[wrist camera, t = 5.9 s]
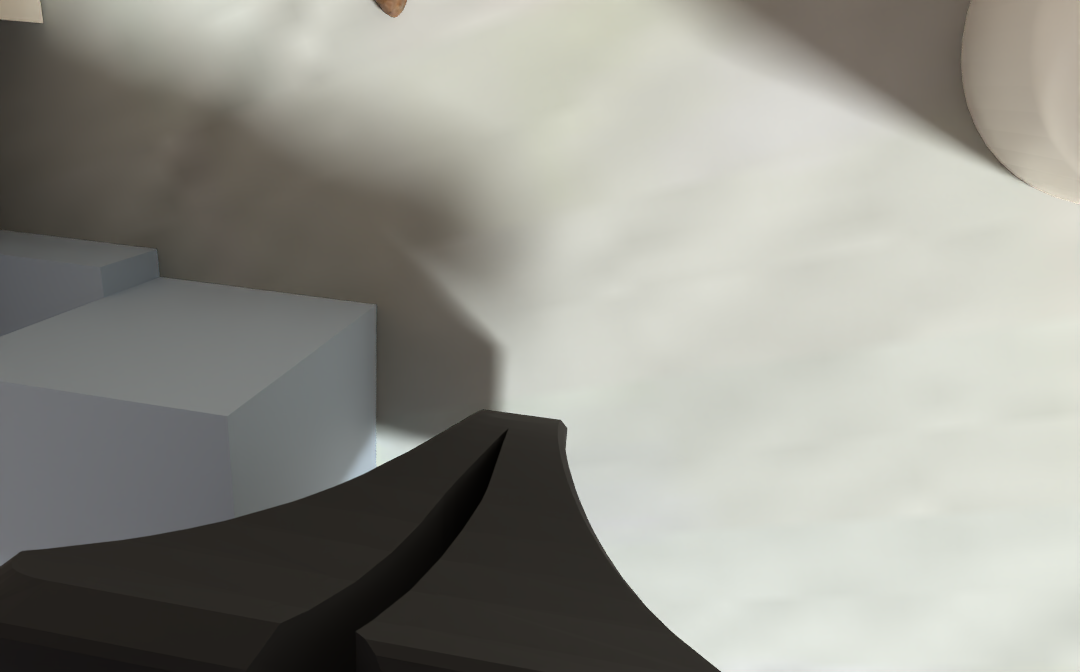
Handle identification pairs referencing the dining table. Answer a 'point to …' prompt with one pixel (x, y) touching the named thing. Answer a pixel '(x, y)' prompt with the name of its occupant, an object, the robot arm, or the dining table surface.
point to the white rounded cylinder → (1027, 88)
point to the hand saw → (392, 6)
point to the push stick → (166, 395)
